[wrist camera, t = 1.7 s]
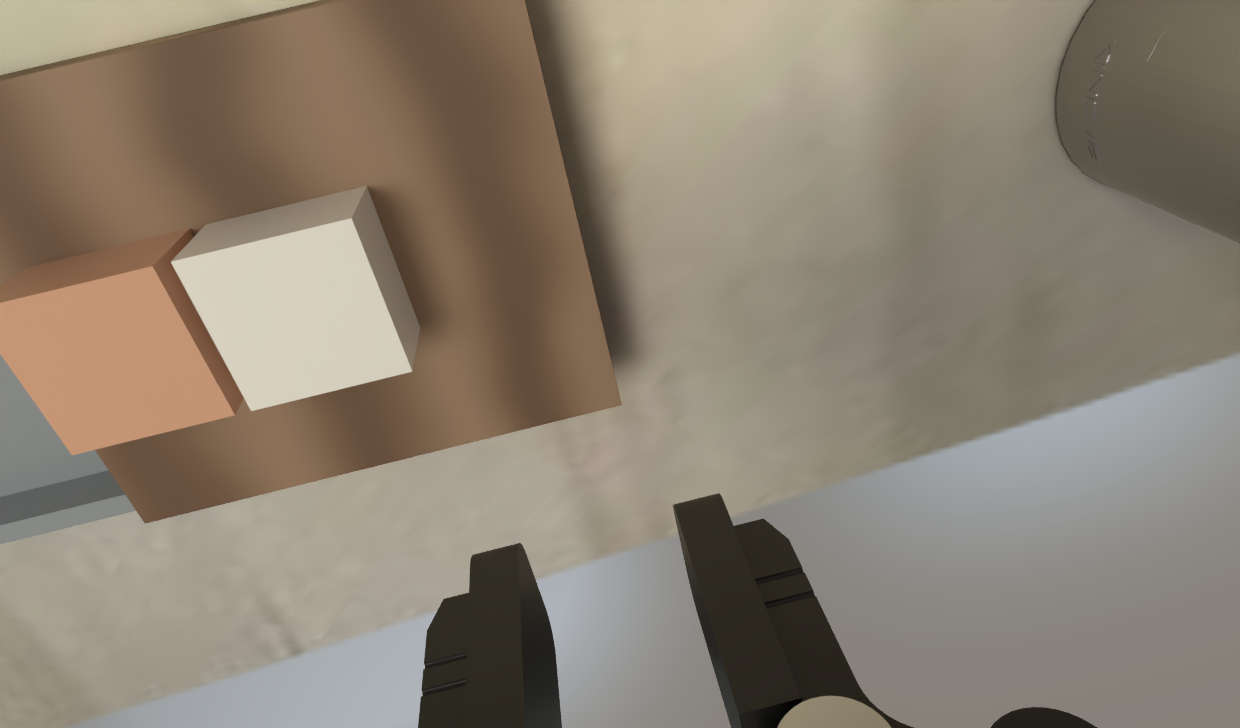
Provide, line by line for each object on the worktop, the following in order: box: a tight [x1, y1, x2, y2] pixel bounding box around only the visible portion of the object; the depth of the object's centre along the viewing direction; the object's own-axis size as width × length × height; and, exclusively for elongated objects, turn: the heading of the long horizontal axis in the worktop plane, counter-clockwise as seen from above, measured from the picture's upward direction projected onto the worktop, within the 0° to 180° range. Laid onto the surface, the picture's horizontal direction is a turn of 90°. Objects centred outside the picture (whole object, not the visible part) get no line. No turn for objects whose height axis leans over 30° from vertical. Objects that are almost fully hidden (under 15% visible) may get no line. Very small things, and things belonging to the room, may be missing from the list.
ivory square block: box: [171, 186, 420, 411], centre depth 24 cm, size 5×5×3 cm
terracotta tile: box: [0, 229, 244, 455], centre depth 24 cm, size 5×5×3 cm
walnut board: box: [0, 0, 622, 523], centre depth 27 cm, size 18×15×4 cm
